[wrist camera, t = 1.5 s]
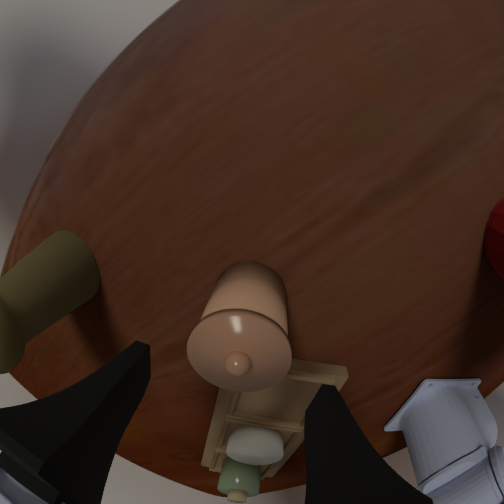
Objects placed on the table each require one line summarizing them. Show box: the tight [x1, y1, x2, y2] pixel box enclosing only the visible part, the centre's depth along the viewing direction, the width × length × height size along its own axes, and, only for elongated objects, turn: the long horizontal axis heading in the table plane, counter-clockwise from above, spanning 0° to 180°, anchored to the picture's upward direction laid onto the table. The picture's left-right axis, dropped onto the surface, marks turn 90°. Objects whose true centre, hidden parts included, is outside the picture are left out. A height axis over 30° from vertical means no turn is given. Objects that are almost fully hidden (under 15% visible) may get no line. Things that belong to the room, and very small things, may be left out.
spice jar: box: [187, 261, 292, 392], centre depth 14 cm, size 5×5×7 cm
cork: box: [0, 230, 100, 374], centre depth 13 cm, size 6×6×11 cm
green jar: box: [217, 457, 261, 503], centre depth 22 cm, size 4×4×5 cm
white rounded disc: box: [226, 425, 284, 465], centre depth 21 cm, size 5×5×2 cm
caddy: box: [201, 358, 348, 479], centre depth 22 cm, size 9×21×2 cm, turn 167°
